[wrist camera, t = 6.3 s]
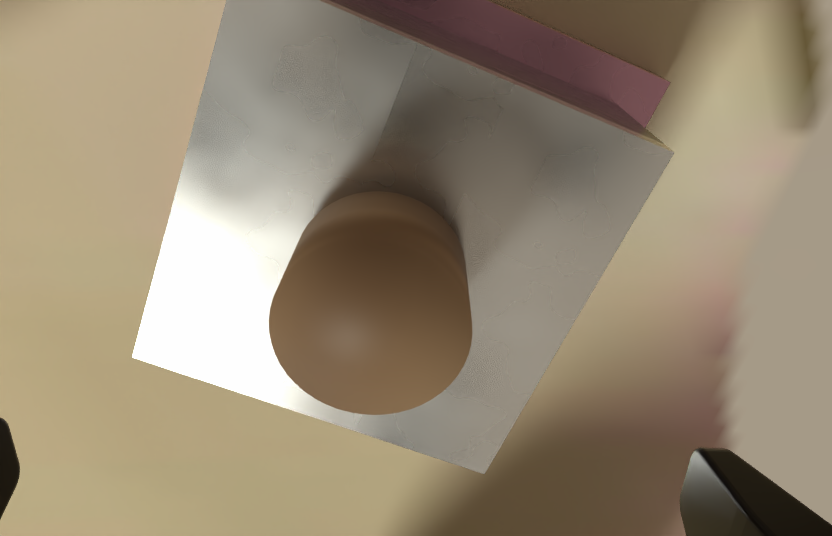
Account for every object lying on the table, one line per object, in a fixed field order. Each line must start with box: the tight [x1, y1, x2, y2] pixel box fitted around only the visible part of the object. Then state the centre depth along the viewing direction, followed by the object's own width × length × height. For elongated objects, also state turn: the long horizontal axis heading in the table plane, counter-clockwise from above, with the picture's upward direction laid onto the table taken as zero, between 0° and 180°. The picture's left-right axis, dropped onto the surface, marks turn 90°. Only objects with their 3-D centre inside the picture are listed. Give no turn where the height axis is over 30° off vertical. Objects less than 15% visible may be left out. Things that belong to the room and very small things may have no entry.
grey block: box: [133, 0, 674, 474], centre depth 17 cm, size 11×11×6 cm
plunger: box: [269, 191, 472, 415], centre depth 15 cm, size 7×7×7 cm
